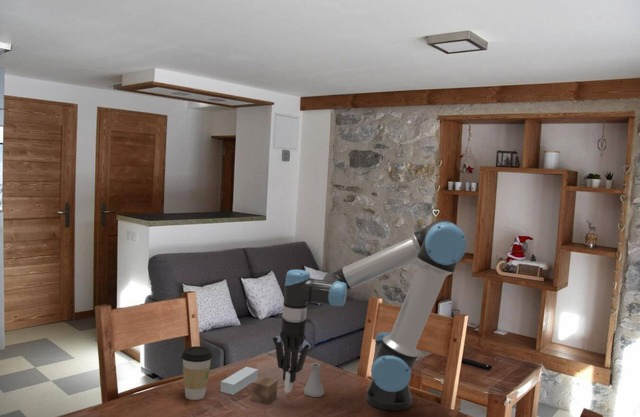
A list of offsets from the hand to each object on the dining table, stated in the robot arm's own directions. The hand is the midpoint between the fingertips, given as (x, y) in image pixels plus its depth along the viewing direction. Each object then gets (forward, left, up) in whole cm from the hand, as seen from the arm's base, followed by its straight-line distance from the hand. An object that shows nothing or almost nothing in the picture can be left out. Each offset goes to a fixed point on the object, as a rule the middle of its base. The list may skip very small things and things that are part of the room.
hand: (288, 390), depth 172 cm
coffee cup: (+29, +10, -5) cm, 31 cm away
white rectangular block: (+21, -5, -5) cm, 22 cm away
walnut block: (+9, 0, -5) cm, 10 cm away
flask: (-3, -13, -5) cm, 14 cm away
